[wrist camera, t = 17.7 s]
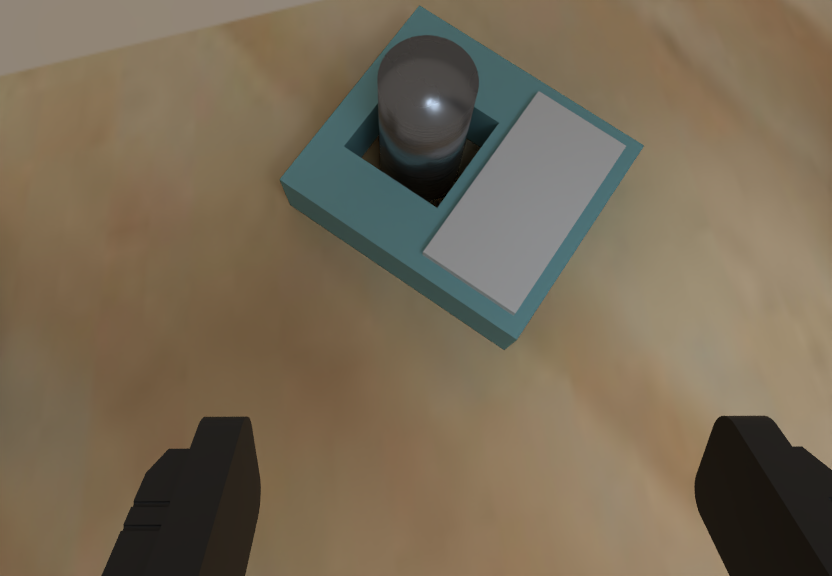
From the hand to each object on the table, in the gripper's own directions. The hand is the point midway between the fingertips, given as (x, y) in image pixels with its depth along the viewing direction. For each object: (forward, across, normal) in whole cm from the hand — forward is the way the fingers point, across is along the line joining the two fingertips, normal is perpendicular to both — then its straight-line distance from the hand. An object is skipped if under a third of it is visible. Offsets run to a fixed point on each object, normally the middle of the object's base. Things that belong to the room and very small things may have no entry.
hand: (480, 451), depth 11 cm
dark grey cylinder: (+31, 0, +7) cm, 32 cm away
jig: (+30, -2, +8) cm, 31 cm away
